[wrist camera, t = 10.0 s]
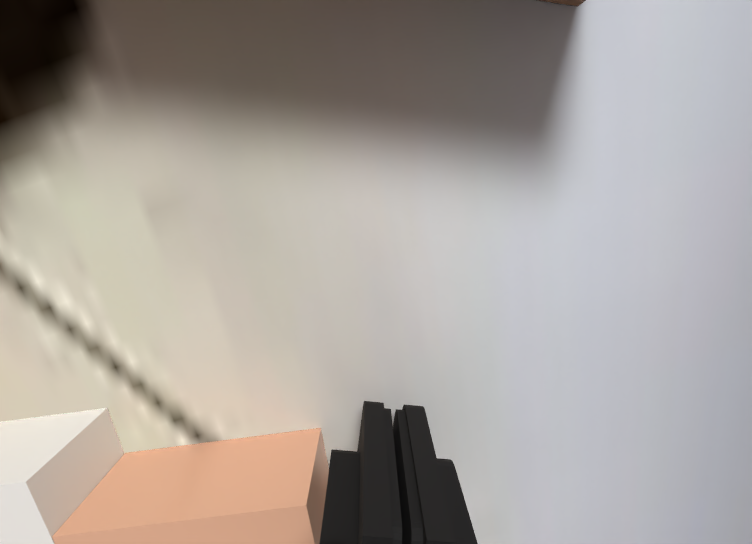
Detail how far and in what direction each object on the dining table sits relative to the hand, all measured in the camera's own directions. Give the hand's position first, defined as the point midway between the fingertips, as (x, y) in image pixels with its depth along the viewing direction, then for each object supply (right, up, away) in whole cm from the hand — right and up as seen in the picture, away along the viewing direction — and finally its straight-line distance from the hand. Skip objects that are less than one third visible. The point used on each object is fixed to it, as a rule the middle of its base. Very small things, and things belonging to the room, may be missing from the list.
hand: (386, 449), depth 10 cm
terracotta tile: (-5, -3, +2) cm, 6 cm away
